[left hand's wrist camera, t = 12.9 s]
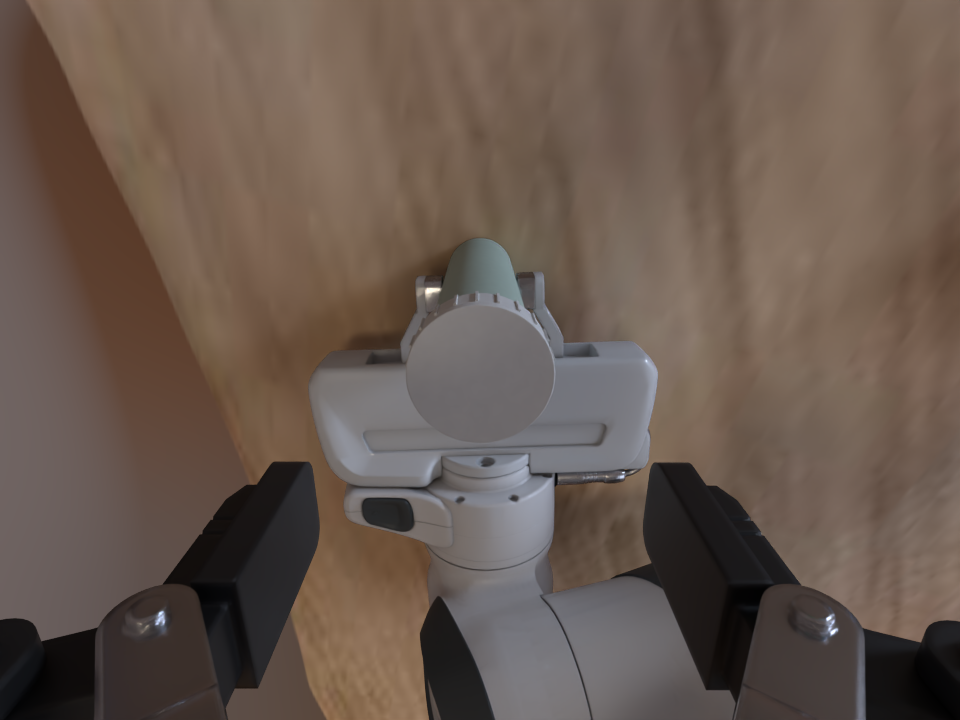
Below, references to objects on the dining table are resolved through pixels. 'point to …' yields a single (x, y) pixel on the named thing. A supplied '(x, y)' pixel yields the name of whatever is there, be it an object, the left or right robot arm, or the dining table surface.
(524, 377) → the lid
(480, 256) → the bottle
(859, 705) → the left robot arm
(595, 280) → the dining table surface
